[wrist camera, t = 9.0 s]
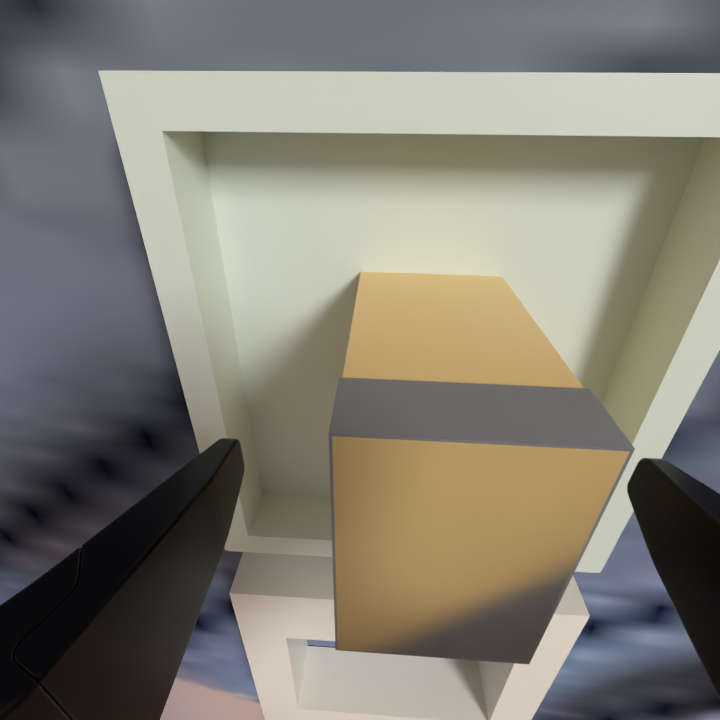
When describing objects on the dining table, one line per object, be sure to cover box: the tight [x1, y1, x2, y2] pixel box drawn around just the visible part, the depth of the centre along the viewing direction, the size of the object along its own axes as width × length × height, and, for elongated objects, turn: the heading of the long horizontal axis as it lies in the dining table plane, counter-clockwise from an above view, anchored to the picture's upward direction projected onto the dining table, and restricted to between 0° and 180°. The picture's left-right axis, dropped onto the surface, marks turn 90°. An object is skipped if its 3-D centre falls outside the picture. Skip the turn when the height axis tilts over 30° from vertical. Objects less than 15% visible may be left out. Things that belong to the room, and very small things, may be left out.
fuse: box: [329, 272, 635, 664], centre depth 10 cm, size 4×6×7 cm
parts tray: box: [99, 71, 720, 573], centre depth 12 cm, size 14×15×2 cm
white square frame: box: [229, 552, 590, 720], centre depth 21 cm, size 14×14×3 cm
